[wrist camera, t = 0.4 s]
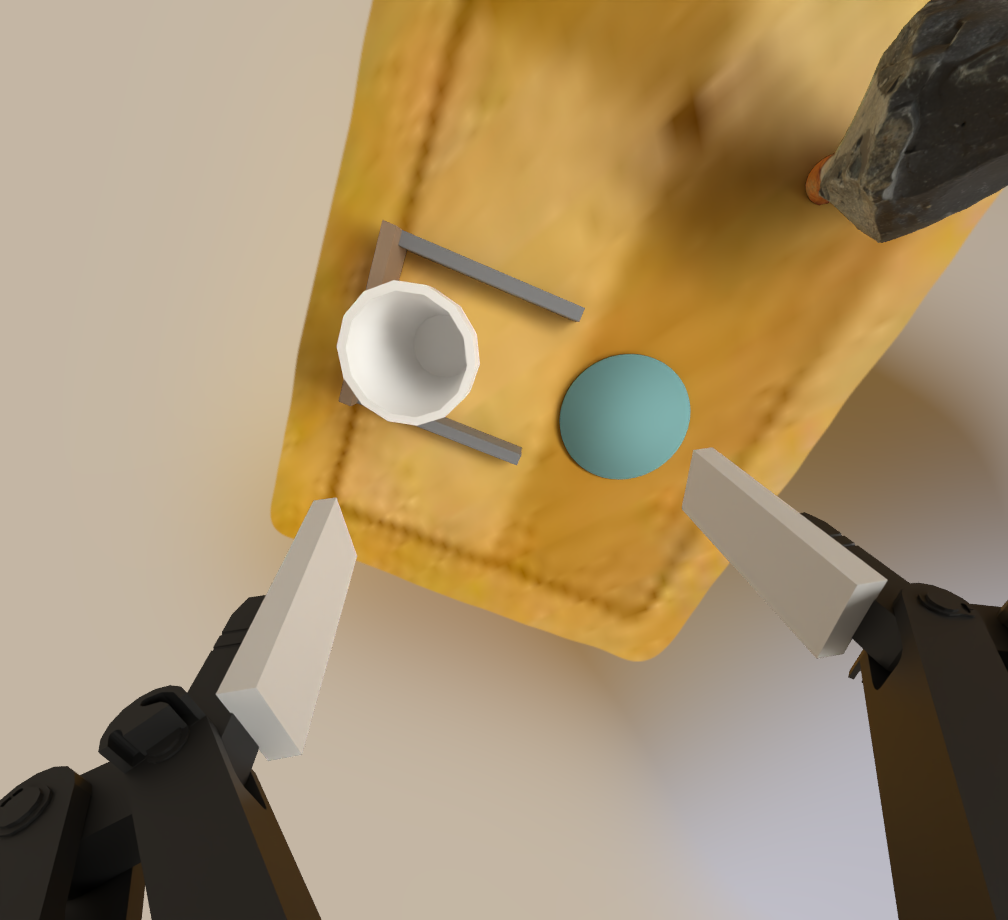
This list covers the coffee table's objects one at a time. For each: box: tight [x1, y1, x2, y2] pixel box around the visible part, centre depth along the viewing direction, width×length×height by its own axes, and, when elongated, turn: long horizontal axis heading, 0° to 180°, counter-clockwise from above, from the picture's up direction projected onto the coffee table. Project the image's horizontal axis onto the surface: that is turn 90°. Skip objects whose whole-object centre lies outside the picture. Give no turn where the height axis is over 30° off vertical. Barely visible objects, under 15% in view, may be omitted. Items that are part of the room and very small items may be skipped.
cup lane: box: [339, 220, 585, 465], centre depth 36 cm, size 16×18×4 cm
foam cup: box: [337, 280, 480, 426], centre depth 32 cm, size 10×9×13 cm
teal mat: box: [560, 354, 690, 479], centre depth 39 cm, size 13×13×1 cm
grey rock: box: [805, 0, 1008, 243], centre depth 23 cm, size 14×15×18 cm
